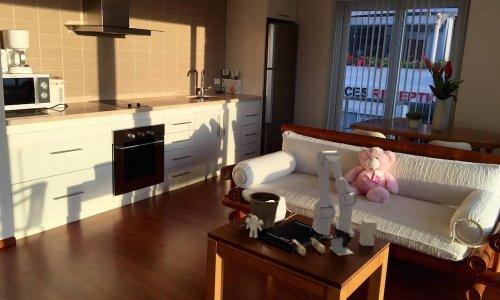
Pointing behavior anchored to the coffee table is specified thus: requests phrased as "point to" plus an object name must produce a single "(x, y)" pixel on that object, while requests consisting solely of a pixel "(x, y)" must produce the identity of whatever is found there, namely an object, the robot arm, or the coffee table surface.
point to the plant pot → (264, 208)
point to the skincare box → (367, 232)
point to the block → (337, 245)
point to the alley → (314, 244)
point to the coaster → (344, 252)
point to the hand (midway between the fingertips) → (342, 245)
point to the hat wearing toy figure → (253, 225)
